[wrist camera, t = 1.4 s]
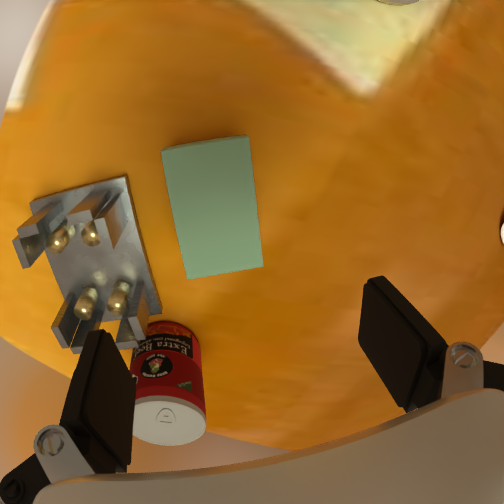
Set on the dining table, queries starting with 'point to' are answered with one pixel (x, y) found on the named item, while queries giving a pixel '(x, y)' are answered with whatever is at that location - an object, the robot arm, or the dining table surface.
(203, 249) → the board
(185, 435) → the canned food
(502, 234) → the spice jar
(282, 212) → the dining table surface
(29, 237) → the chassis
